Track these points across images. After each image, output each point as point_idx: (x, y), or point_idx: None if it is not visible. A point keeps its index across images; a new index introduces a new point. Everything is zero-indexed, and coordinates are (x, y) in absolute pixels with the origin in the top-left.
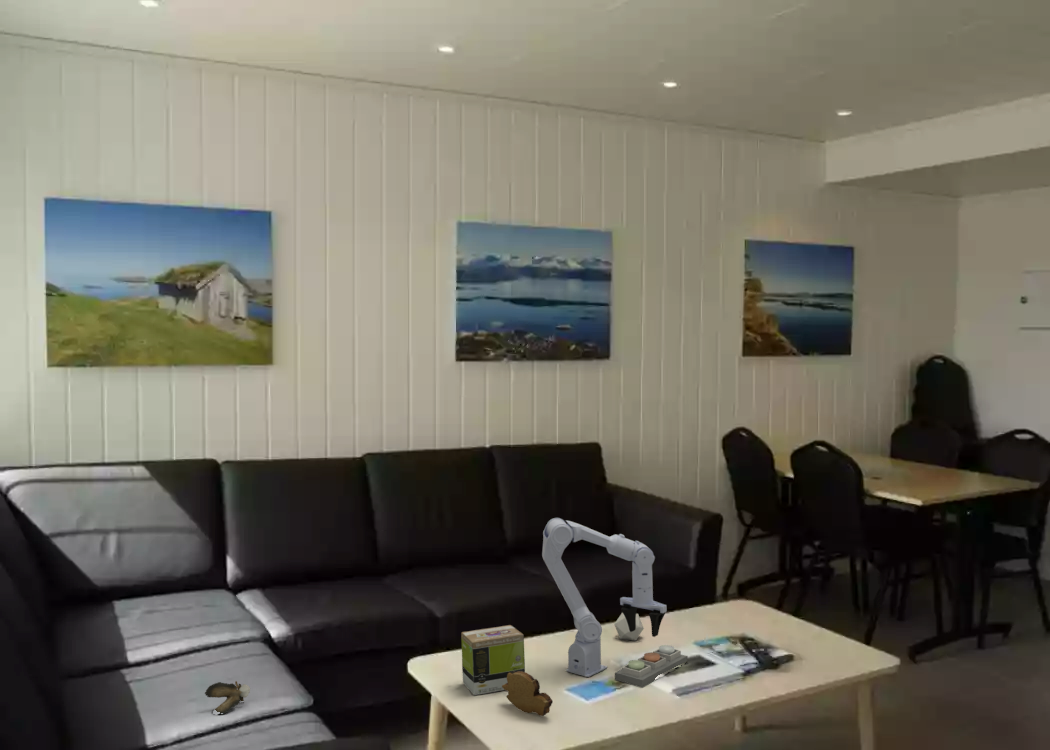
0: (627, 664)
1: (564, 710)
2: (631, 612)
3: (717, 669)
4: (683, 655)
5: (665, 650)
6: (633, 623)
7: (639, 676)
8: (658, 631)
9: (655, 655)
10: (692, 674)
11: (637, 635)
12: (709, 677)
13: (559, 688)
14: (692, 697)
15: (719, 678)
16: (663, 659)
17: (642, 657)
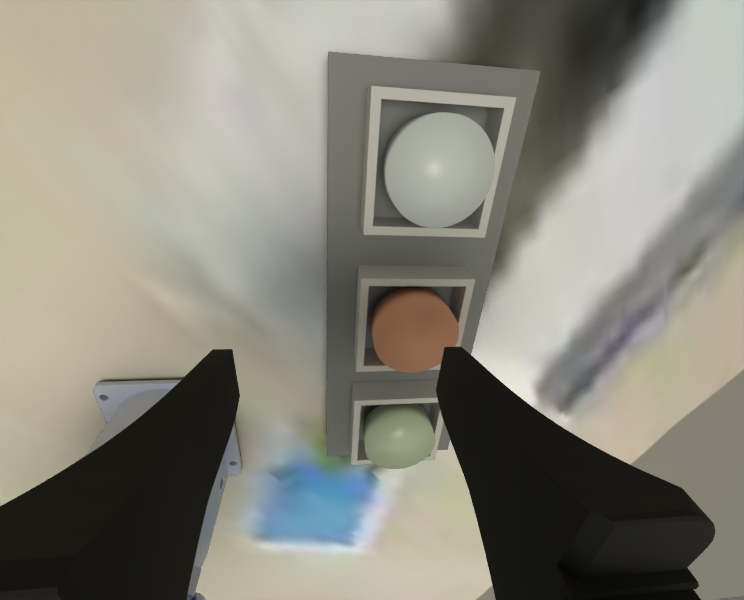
0: (354, 437)
1: (343, 589)
2: (166, 572)
3: (694, 74)
4: (513, 77)
5: (451, 223)
6: (213, 418)
7: None
8: (476, 361)
9: (436, 334)
10: (576, 224)
11: None
12: (655, 211)
13: (238, 544)
14: (609, 400)
15: (700, 196)
16: (469, 304)
17: (363, 343)
